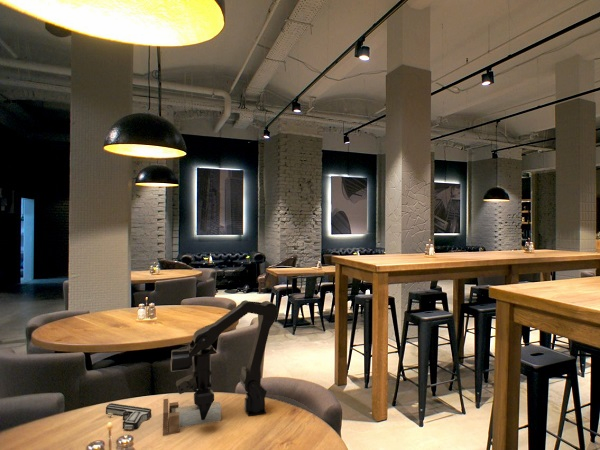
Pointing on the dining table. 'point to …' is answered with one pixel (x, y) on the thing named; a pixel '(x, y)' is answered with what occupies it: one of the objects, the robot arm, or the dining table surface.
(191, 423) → the rail
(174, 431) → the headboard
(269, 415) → the dining table surface
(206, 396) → the robot arm
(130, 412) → the handgun
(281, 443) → the dining table surface
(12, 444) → the dining table surface
